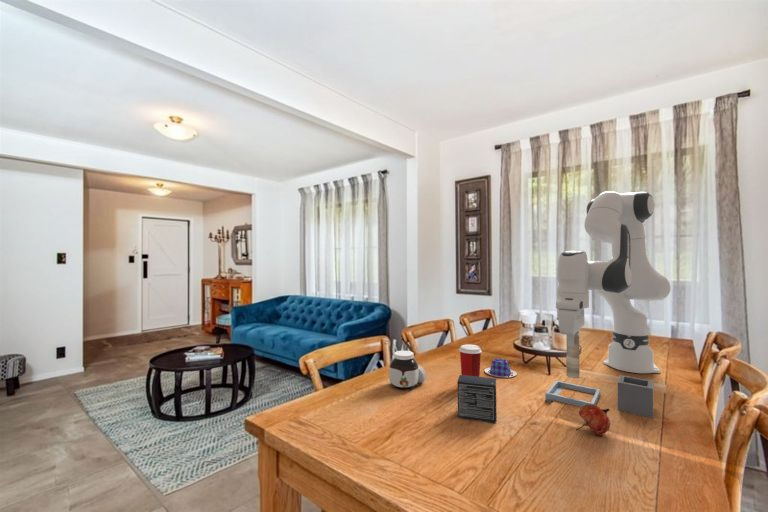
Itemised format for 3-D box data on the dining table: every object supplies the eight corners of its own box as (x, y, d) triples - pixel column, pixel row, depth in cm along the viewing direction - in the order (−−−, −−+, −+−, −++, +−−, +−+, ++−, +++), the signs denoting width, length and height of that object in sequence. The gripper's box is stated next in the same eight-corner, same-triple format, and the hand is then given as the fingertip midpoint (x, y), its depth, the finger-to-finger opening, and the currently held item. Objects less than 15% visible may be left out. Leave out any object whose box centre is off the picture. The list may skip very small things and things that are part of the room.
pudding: (517, 371, 136) (517, 358, 136) (515, 381, 125) (515, 366, 125) (486, 367, 141) (486, 354, 141) (482, 376, 130) (482, 362, 130)
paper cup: (479, 383, 122) (479, 344, 122) (483, 391, 115) (483, 350, 115) (457, 382, 123) (457, 343, 123) (460, 390, 115) (460, 349, 116)
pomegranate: (587, 448, 85) (624, 429, 82) (566, 420, 87) (602, 400, 84) (583, 437, 91) (617, 419, 89) (564, 411, 94) (597, 393, 91)
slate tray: (556, 387, 118) (556, 380, 118) (600, 397, 110) (600, 389, 110) (545, 400, 107) (545, 393, 107) (593, 412, 99) (593, 404, 99)
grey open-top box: (620, 404, 105) (620, 374, 105) (653, 411, 100) (653, 380, 100) (617, 413, 99) (617, 382, 99) (653, 421, 94) (652, 388, 94)
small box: (496, 413, 99) (496, 377, 99) (496, 424, 92) (496, 385, 92) (459, 408, 102) (459, 373, 102) (457, 418, 96) (457, 380, 96)
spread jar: (386, 388, 118) (386, 354, 118) (397, 377, 128) (397, 346, 128) (420, 393, 113) (420, 358, 113) (428, 381, 124) (428, 349, 124)
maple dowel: (567, 373, 111) (567, 333, 111) (580, 376, 109) (580, 335, 109) (565, 376, 108) (565, 335, 108) (578, 379, 106) (578, 337, 106)
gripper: (568, 297, 119) (568, 337, 119) (554, 303, 103) (554, 349, 103) (589, 299, 115) (589, 340, 115) (578, 305, 99) (578, 352, 99)
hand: (572, 344), depth 108 cm, fingers closed on maple dowel, 4 cm apart
